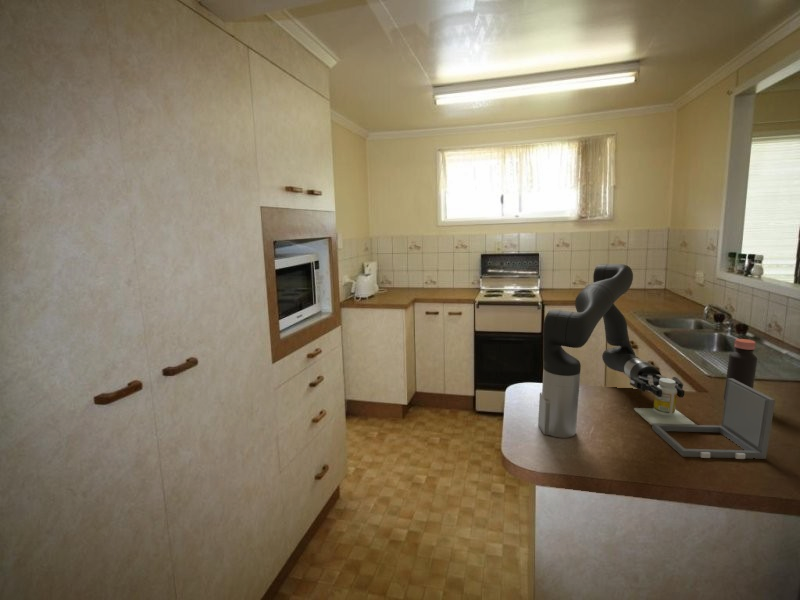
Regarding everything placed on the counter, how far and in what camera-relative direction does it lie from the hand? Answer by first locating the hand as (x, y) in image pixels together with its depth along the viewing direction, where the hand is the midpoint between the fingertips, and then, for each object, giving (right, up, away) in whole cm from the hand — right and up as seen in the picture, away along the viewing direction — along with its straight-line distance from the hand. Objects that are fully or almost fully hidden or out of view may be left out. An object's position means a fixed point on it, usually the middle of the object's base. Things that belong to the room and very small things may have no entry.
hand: (671, 394), depth 119 cm
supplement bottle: (0, -6, +4) cm, 7 cm away
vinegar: (+30, -6, +14) cm, 34 cm away
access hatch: (+1, -10, -11) cm, 15 cm away
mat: (0, -8, +4) cm, 9 cm away
